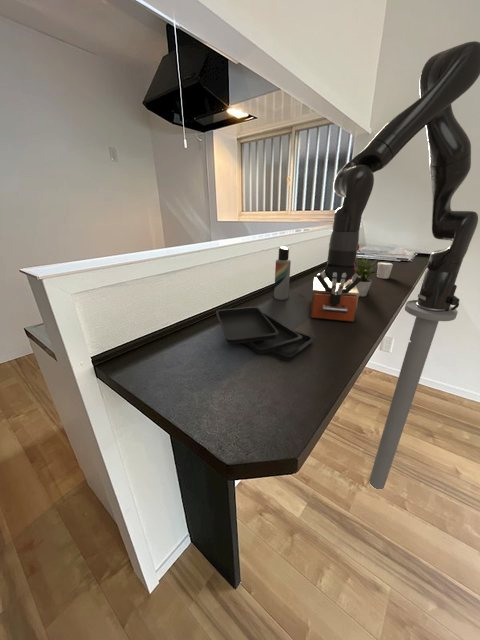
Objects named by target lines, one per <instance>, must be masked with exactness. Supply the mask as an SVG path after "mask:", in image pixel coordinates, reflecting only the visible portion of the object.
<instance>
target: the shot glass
mask: <svg viewBox="0 0 480 640" xmlns="http://www.w3.org/2000/svg"><path fill="white" fill-rule="evenodd" d="M381 262H382V263H381ZM381 262H377V264H378V265H377V271H376V274H379V275H376V278H378V279H386V280H387V279H389V278H390V276H391V272H392V270H393V266H394V263H391V262H387V261H381ZM379 263H380V264H379ZM377 272H378V273H377Z"/></svg>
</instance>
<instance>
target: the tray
mask: <svg viewBox="0 0 480 640" xmlns="http://www.w3.org/2000/svg"><path fill="white" fill-rule="evenodd" d="M215 314H216V317H217V319H218V323H219V324H220V327H221V329H222V332H223V334H224V337H225V340H226V342H227V343H228V344H229V345H238V344H243V345H246V346H248V347H249V348H251V349H252V350H253V351H254V352H255V353H256V354H260V355H261V354H267V355H268V356H272V357H273V358H276V359H279V360H281V361H283V362H289V361H291V360H292V359H294V358H295V357H296V356H297V355H299V354H300V353H301V352H302V351H304V350H305V349H307V348H308V347H309V346H310V345H311V344H312V343H313V342H314V341H316V337H315V336H313V335H310V334H307V333H303V332H301V331H298V330H295V329H292V328H290V327H288V326H287V325H286V324H284V323H282V322H280V321H279V320H277V319H275V317H272V316H270V315H269V314H267V313H265V312H264V311H262V310H261V308H260V307H259V306H245V307H244V306H242V307H234V308H221V309H216V311H215Z"/></svg>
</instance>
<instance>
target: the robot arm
mask: <svg viewBox="0 0 480 640" xmlns="http://www.w3.org/2000/svg"><path fill="white" fill-rule="evenodd" d="M479 77H480V41H475V40H474V41H468V42H463V43H461V44H458V45H455V46H453V47H450V48H448V49H445V50H443V51H440V52H437V53H435V54H434V55H432V56H430V57H429V59H427V61H426V62H425V63H424V66H423V67H422V70H421V73H420V77H419V85H418V86H419V89H418V90H419V91H418V92H419V98H418V99H417V100H416V101H414V102H413V103H412V104H410V105H409V106H408V107H406V108H405V109H404V110H402V111H401V112H399V113H398V114H397V115H396V116H395V117H393V118H392V119H391V120H390V121H388V123H386V124H385V125H384V126H383V127H382V128H381V130H379V132H378V133H377V134H376V135H375V136H374V137H373V138H372V139H371V140H370V142H369V143H368V144H367V145H366V146H365V148H364V149H362V150H361V151H360V152H359V153H357V154H356V155H355V156H354V157H353V158H352V159H350V160H349V161H348V162H347V163H346V164H345V165H344V166H343V167H342V168H340V170H339V171H338V173H336V176H335V177H334V181H333V191H334V193H335V194H336V195H337V196H338V197H341V198H344V199H343V202H342V205H341V207H338V208H337V209H336V210H335V212H334V215H333V220H332V221H333V222H332V229H331V234H330V237H329V243H328V251H327V261H326V266H325V267H324V269H323V270H322V272H319V273H317V274H316V278H317V279H318V280H319V282H320V283H321V285H322V286H323V288H324V289H325V291H326V292H329V293H331V296H330V304H332V306H337V304H338V305H339V303H340V298H341V294H343V293H348V292H349V291H350V290H351V289H353V288H354V287H355V286H356V285H357V284H358V283H359V282H360V281H361V277H360V276H358V274H357V273H355V269H354V265H356V263H355V262H356V260H357V259H356V257H357V255H356V253H357V254H358V251H357V247H358V244H359V241H360V231H361V225H362V224H361V223H362V218H363V217H362V216H363V214H364V212H365V209H366V207H367V204H368V202H369V200H370V197H371V194H372V192H373V188H374V185H375V176H374V174H375V173H376V172H378V171H381V170H382V169H385V168H386V167H387V165H389V164H390V162H391V161H393V159H394V158H395V157H396V156H397V155H398V154H399V153H400V152H401V151H402V149H404V147H405V146H406V145H407V144H408V143H409V142H410V141H411V140H412V139H413V138H414V137H415V136H416V135H417V134H418V133H419V132H421V130H423V129H424V128H425V129H426V130H425V131H426V137H427V138H426V139H427V146H428V165H429V176H430V183H431V184H430V185H431V198H432V199H431V202H432V205H431V206H432V207H431V208H432V209H431V233H432V234H431V235H432V236H433V238H434V239H436V240H440V241H450V242H451V244H450V245H449V246H448V247H446V248H443V249H438V250H434V251H432V252H431V253H430V255H429V258H428V263H427V266H426V269H425V273H424V276H423V279H422V283H421V287H420V291H419V293H418V294H417V299H416V300H417V303H416V306H417V307H419V308H421V309H424V310H428V311H433V312H444V311H449V308H450V306H452V307H453V308H451V310H455V309H456V310H457V309H458V307H459V306H460V298H459V297H457V296H455V294H456V290H457V287H458V286H457V284H456V282H457V279H458V276H459V275H458V274H459V273H460V269H461V266H462V263H463V260H464V258H465V257H466V254H467V252H468V250H469V247H470V245H471V242H472V239H473V237H474V235H475V232H476V230H477V227H478V222H479V214H478V212H476V211H473V210H452V208H451V207H452V205H451V203H452V198H453V196H454V195H455V193H456V192H457V190H458V189H459V188H460V186H461V185H462V184H463V182H464V181H465V180H466V178H467V177H468V175H469V173H470V171H471V167H472V143H471V140H470V137H469V136H468V134H467V132H466V131H465V130H464V128H463V127H462V125H461V124H460V122H459V121H458V120H457V118H456V117H455V114H454V111H453V107H452V104H453V103H454V102H455V101H456V100H458V99H459V98H460V97H461V96H463V95H464V94H465V93H466V92H467V91H469V89H470V88H471V87H472V86H473V85H474V84H475V83H476V82H477V80H478V78H479ZM352 276H353V277H352ZM351 277H352V281H351V282H350V283H349V284H348V285H347V286H346V287H344V283H346V282H347V281H348V280H349V279H350V278H351ZM325 278H328V279H329V280H330V282H332V285H331V287H329V286H328V284H327V283H326V281H325V280H324V279H325ZM336 283H338V288H337V293H336ZM343 287H344V288H343Z"/></svg>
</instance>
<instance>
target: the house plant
mask: <svg viewBox="0 0 480 640" xmlns="http://www.w3.org/2000/svg"><path fill="white" fill-rule="evenodd" d="M370 256H371V255H369V257H368V258H367V259H366V260H365V259H364V256H363V255H362V256H361V263H360V260H359V259H358V257H357V256H356V259H355V260H356V261H355V265H356V266H355V267H356V269H355V270H356V271H355V273H356V274H357V275H358V276H360V277H361V281H360V282H359V283H358V284H357V285H356V287H357V289H358V291H359V297H366V296H367V295H368V292H369V290H370V287H371V285H372V283H373V280H372V279H371V278H372V277H373V276H377V275H379V274H377V273H378V272H377V271H372V270H374V268H375V267H378V263H379V262H378V263H377V264H376V262H377V260H375V261H374V262H372V263H369V264H368V265H367V262H368V260H369V258H370ZM382 262H383V261H381V263H382ZM375 264H376V265H375ZM379 264H380V263H379ZM372 274H373V275H372Z"/></svg>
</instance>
